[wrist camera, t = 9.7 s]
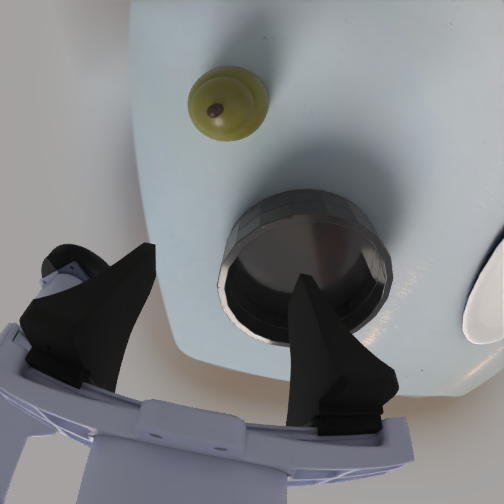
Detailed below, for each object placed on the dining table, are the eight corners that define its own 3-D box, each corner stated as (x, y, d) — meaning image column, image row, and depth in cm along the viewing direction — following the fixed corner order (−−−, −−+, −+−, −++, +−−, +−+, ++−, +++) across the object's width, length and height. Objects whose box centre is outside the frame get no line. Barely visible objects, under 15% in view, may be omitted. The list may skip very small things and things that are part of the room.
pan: (260, 327, 29) (258, 359, 25) (197, 223, 22) (184, 252, 19) (384, 293, 25) (396, 323, 22) (360, 166, 19) (378, 186, 15)
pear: (216, 143, 18) (188, 178, 12) (188, 86, 16) (143, 92, 10) (279, 118, 17) (284, 140, 11) (251, 57, 15) (240, 43, 9)
